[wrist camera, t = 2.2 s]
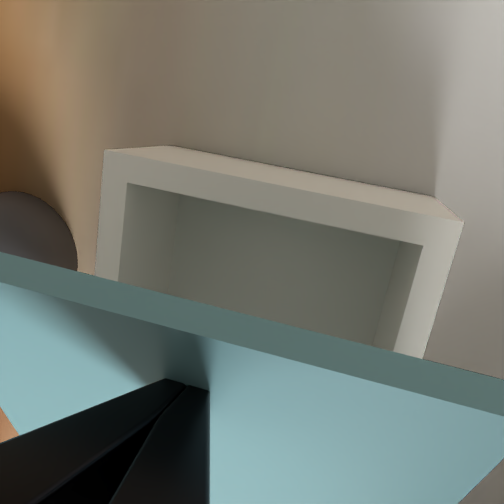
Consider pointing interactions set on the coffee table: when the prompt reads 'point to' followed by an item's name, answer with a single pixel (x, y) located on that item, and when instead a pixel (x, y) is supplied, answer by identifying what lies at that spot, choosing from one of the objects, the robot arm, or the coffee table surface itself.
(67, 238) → the grey cylinder white cap
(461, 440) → the lid
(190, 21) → the coffee table surface
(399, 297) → the box
